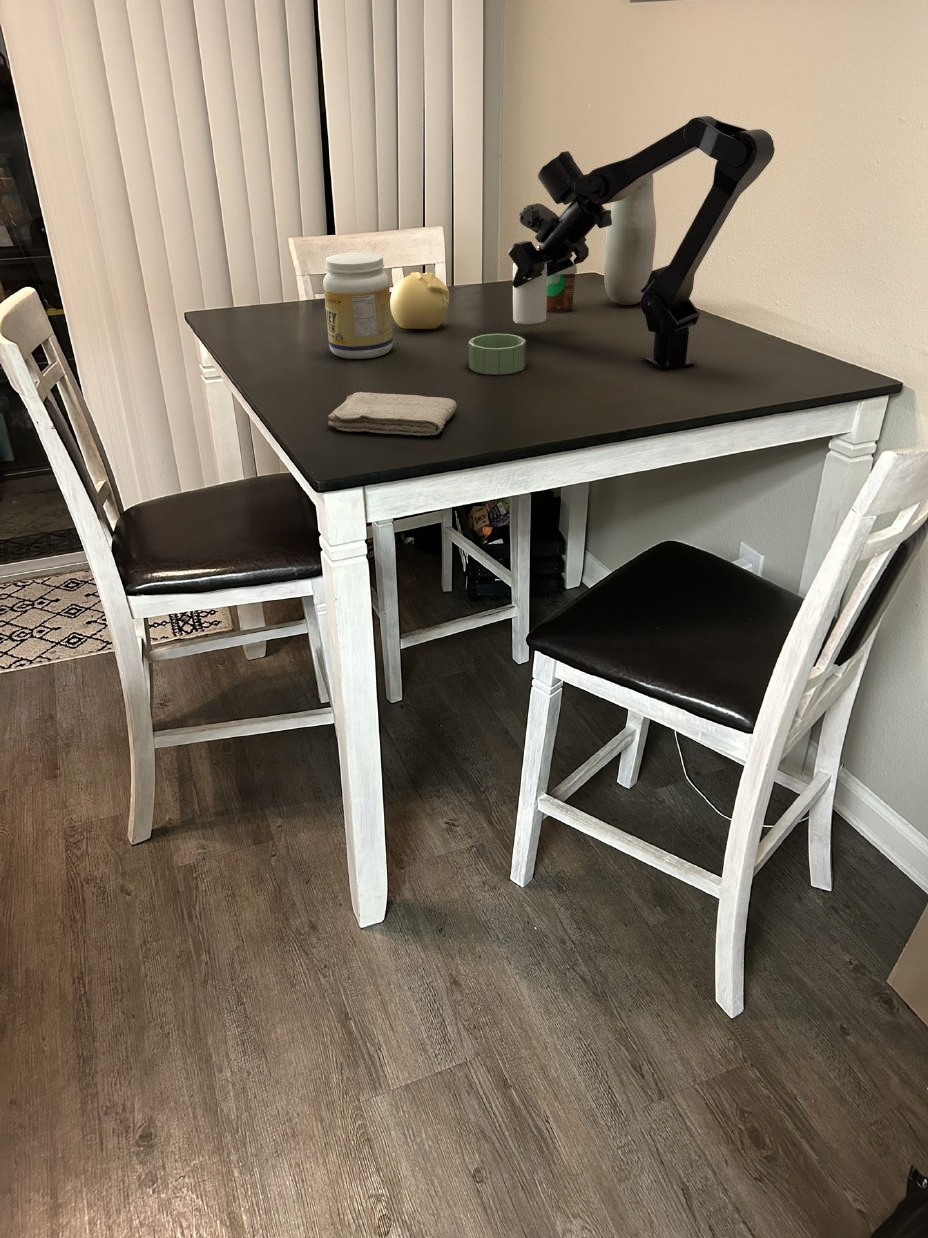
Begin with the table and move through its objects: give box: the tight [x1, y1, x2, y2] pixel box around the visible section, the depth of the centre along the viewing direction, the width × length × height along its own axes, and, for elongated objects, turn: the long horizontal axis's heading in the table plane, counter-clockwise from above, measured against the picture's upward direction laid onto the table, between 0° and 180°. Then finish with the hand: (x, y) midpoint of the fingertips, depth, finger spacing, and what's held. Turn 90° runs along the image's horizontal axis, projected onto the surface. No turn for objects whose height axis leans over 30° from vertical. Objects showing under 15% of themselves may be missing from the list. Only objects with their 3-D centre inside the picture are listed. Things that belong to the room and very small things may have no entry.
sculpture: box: [390, 271, 450, 330], centre depth 186 cm, size 12×12×11 cm
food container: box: [546, 262, 578, 313], centre depth 197 cm, size 12×6×10 cm, turn 25°
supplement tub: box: [322, 251, 394, 360], centre depth 170 cm, size 12×12×17 cm
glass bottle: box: [603, 173, 657, 306], centre depth 194 cm, size 10×10×28 cm
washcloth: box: [327, 391, 458, 437], centre depth 140 cm, size 12×18×3 cm, turn 77°
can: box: [512, 262, 547, 326], centre depth 175 cm, size 6×6×12 cm
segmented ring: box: [468, 333, 527, 376], centre depth 163 cm, size 10×10×4 cm
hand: (524, 282), depth 176 cm, fingers closed on can, 6 cm apart
